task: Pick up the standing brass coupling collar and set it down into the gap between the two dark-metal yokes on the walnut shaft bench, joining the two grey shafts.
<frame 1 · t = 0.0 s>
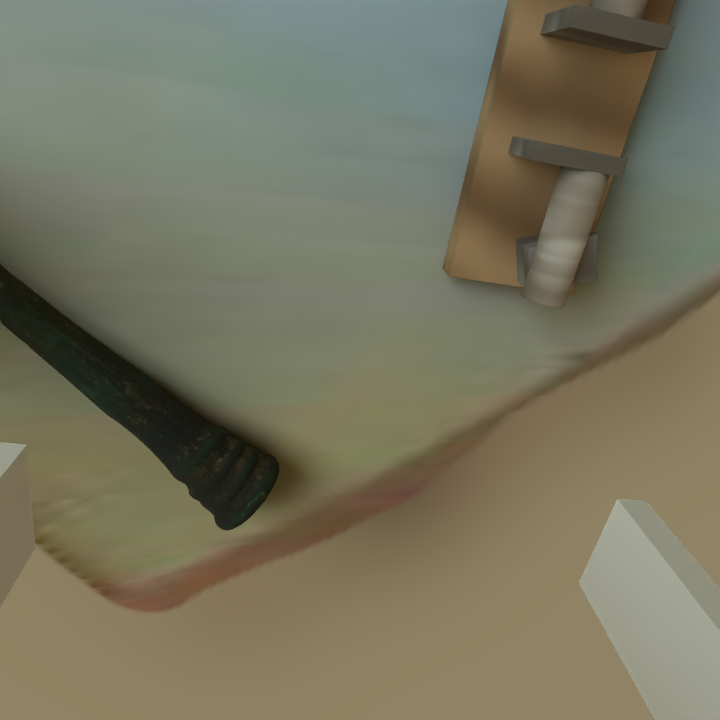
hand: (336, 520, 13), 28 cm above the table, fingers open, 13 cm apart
bench: (555, 95, 35), on the table
tool: (113, 376, 41), on the table
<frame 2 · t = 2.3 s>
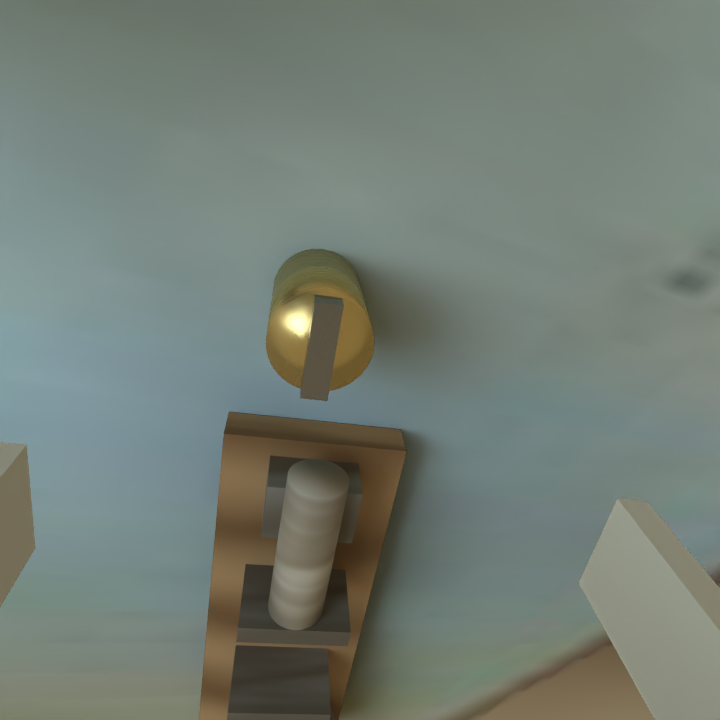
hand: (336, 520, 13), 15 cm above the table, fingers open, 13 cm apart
bench: (288, 587, 34), on the table
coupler: (316, 291, 26), on the table
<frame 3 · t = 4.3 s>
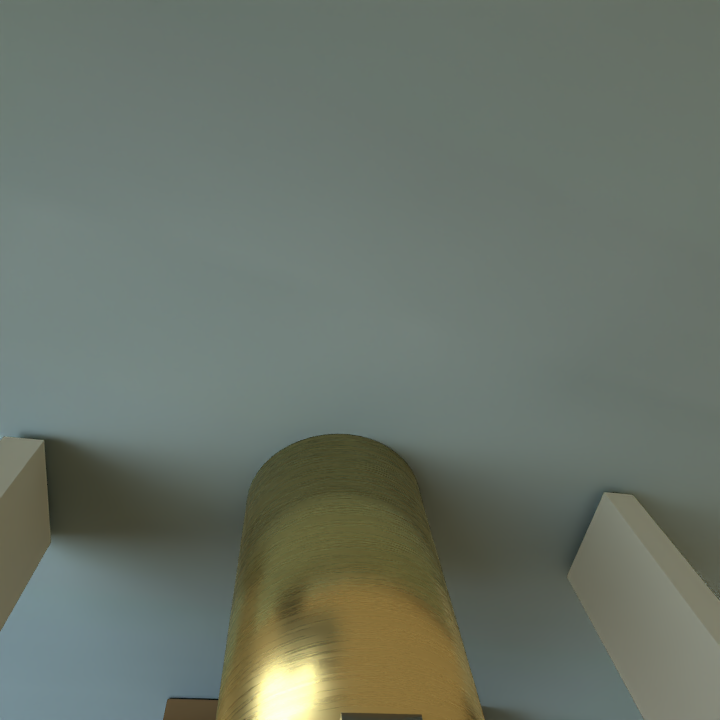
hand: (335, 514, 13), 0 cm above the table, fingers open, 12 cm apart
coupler: (334, 506, 13), on the table
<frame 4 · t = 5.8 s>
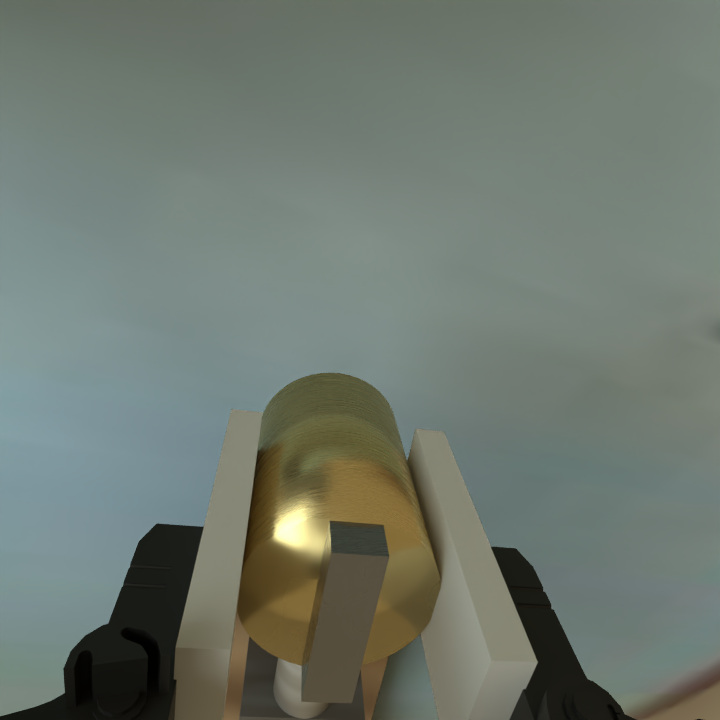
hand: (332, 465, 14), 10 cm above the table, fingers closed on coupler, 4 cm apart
bench: (296, 656, 31), on the table
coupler: (328, 434, 16), point 8 cm above the table, touching gripper
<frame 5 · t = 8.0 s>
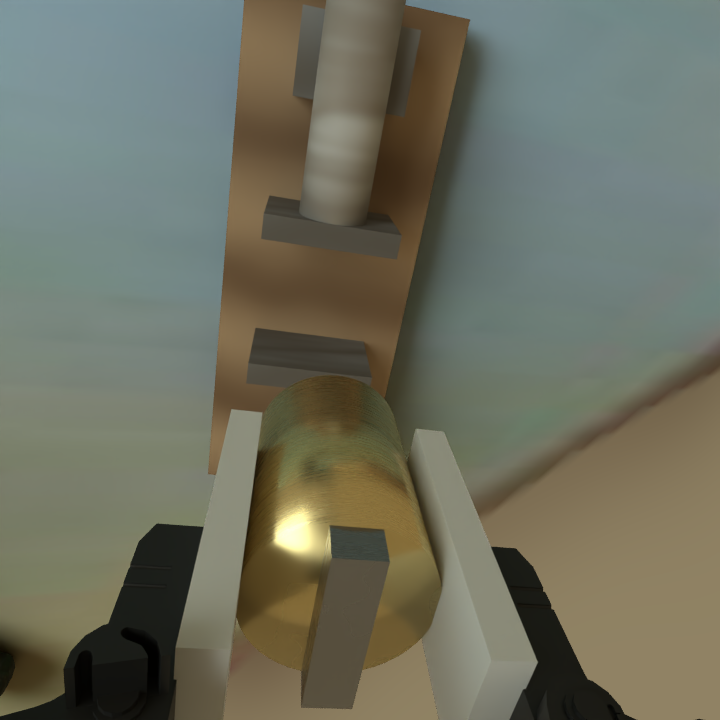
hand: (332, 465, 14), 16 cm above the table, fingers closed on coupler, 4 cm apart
bench: (317, 270, 29), on the table
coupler: (328, 436, 16), point 14 cm above the table, touching gripper
when the fingers open (3 cm above the table, at t = 10.3 s): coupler stays where it is, resting on bench.
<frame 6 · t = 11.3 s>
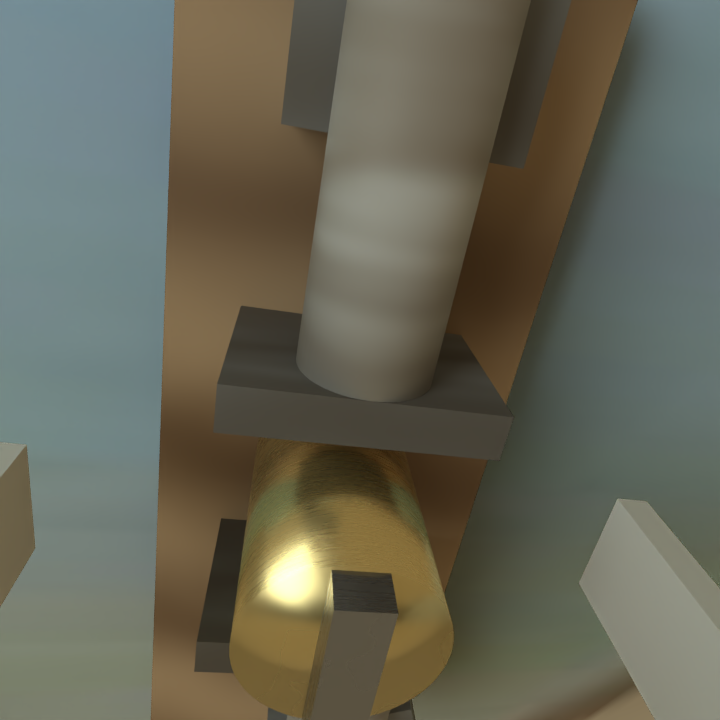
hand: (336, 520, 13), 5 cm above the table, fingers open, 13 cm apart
bench: (328, 410, 17), on the table
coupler: (330, 454, 15), point 2 cm above the table, touching bench
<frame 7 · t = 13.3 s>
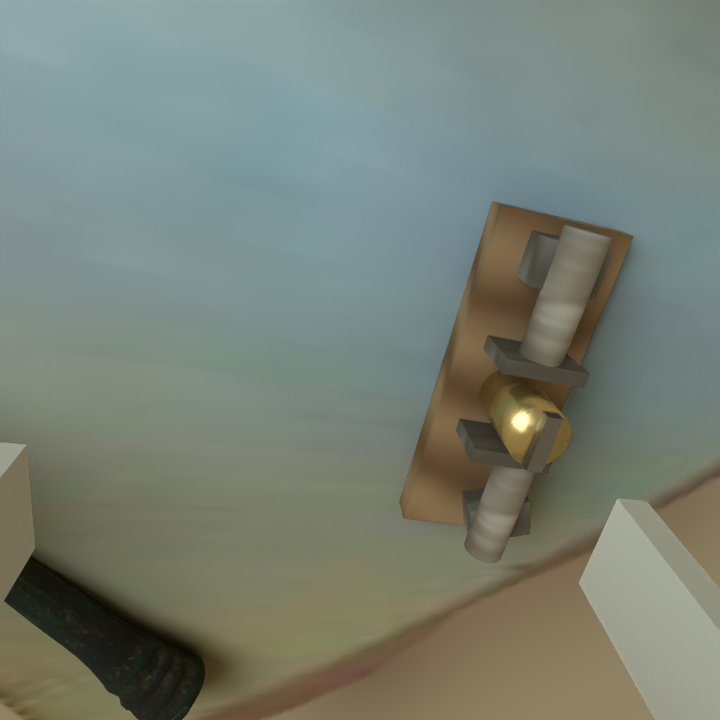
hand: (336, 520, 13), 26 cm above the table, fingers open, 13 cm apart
bench: (498, 378, 41), on the table
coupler: (506, 393, 39), point 2 cm above the table, touching bench
tool: (57, 588, 46), on the table
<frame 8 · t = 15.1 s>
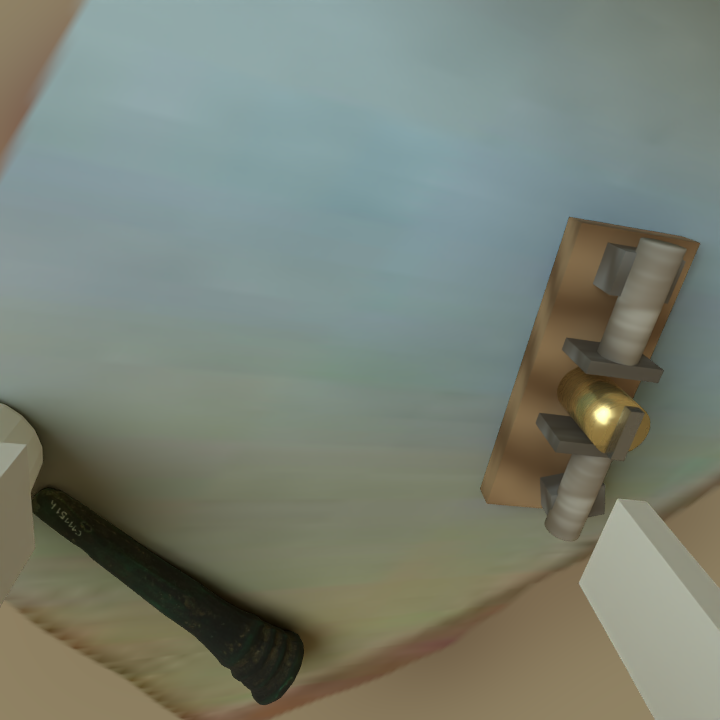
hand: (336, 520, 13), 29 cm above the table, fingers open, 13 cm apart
bench: (572, 374, 45), on the table
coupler: (582, 388, 43), point 2 cm above the table, touching bench
tool: (170, 577, 51), on the table
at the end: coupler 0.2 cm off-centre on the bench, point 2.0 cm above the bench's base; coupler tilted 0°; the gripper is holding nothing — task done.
